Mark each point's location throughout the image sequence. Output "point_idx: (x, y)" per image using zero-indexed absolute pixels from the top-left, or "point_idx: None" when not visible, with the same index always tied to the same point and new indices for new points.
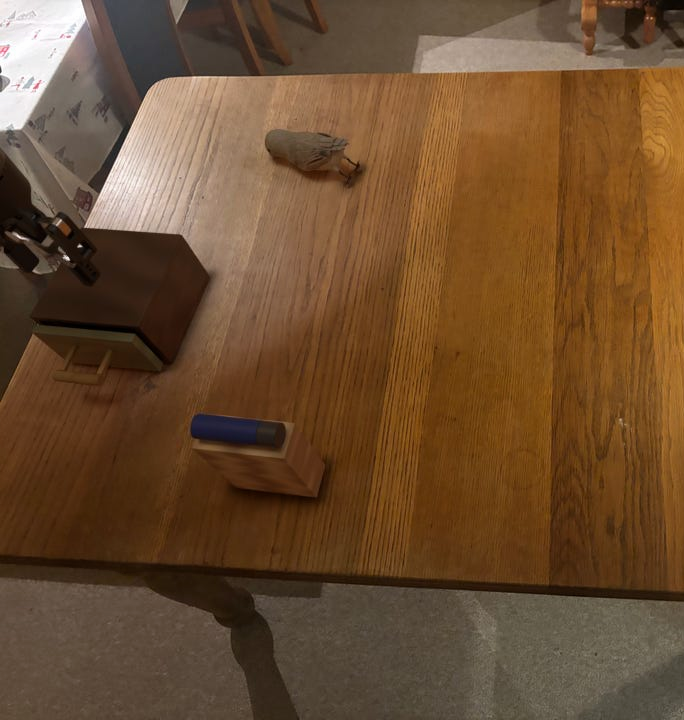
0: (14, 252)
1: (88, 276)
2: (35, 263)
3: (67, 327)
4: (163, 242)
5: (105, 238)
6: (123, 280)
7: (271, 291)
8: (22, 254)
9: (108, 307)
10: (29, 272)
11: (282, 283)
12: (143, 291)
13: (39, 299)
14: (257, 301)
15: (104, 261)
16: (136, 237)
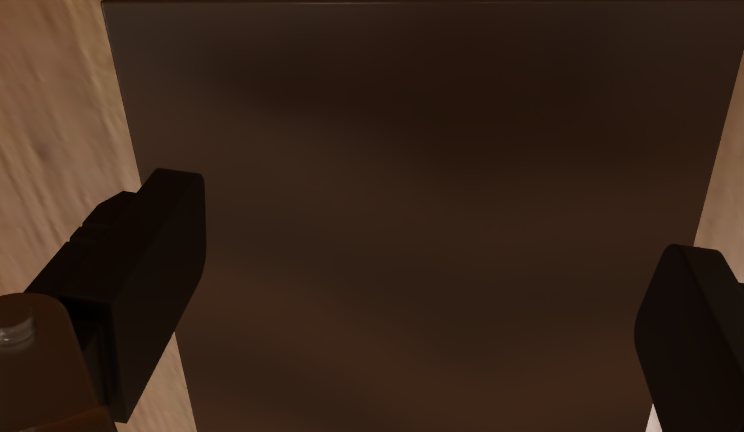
0: (723, 410)
1: (75, 232)
2: (645, 313)
3: None
4: (248, 406)
5: (504, 420)
6: (318, 242)
7: (48, 241)
8: (687, 385)
9: (315, 97)
10: (670, 248)
11: (33, 267)
12: None
13: (723, 113)
14: (68, 207)
15: (459, 325)
16: (370, 424)
